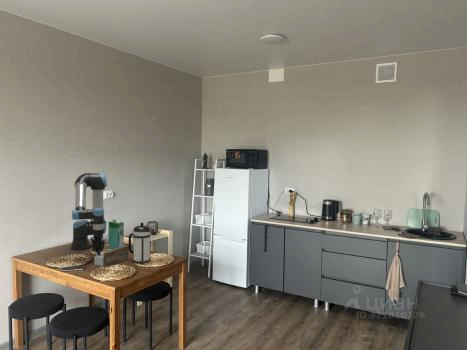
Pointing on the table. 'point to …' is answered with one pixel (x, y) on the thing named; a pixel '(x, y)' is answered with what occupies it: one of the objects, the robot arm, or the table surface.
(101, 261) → the block
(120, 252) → the board
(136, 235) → the coffee press
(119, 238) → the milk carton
